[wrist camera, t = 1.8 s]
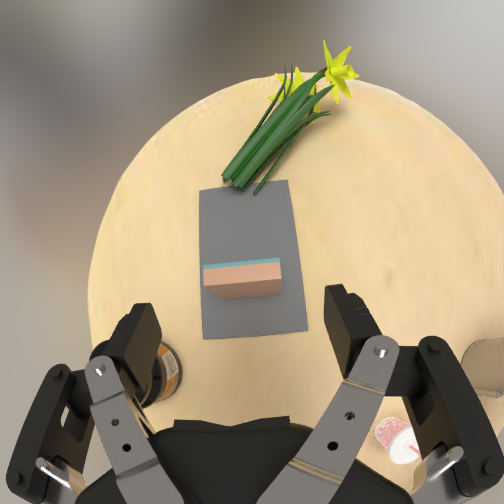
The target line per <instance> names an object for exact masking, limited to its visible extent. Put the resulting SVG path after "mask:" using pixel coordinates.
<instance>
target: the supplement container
mask: <svg viewBox="0 0 504 504" xmlns="http://www.w3.org/2000/svg"><path fill="white" fill-rule="evenodd" d="M108 341H109V340H106V341H103V342H102V343H100V344H99V345H97V346H96V347H95V349H94V350H93V352H92V354H91V356H90V359H89V361H90V360H92V359H93V358H95V357H98V356H101V355H102V353H103V351H104V349H105V347H106V345H107V343H108ZM180 380H181V367H180V363H179V360H178V358H177V356H176V355H175V353H174V352H173V351H172V349H171V348H170V347H168V346H167V345H166V344H165V343H163V342H160V345H159V349H158V352H157V355H156V358H155V361H154V364H153V367H152V371H151V374H150V377H149V380H148V384H147V387H146V390H145V393H144V392H135V397H136V398H137V400H138V402H139V404H140V405H141V407H142V409H144V408H147V407H149V406H151V405H152V404H154V403H156V402H158V401H161V400H164V399H166V398H168V397H170V396H171V395H172V394H173V393H174V392H175V391H176V390H177V388H178V386H179V384H180Z"/></svg>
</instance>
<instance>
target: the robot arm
mask: <svg viewBox="0 0 504 504" xmlns="http://www.w3.org/2000/svg"><path fill="white" fill-rule="evenodd" d="M324 322H325V326H326V329H327V332H328V335H329V338H330V341H331V343H332V346H333V349H334V352H335V355H336V358H337V361H338V364H339V367H340V370H341V373H342V376H343V379H344V380H343V382H342V383H341V385H340V387H339V389H338V390H337V392H336V394H335V396H334V397H333V399H332V401H331V403H330V404H329V406H328V408H327V409H326V411H325V412H324V414H323V416H322V417H321V419H320V420H319V422H318V424H317V425H316V427H315V428H314V429H313V428H311V427H308V426H305V425H300V424H295V423H290V419H289V416H282V417H273V418H262V419H257V420H253V421H250V422H246V423H242V424H239V425H235V426H224V425H219V424H214V423H210V422H206V421H201V420H174V426H173V427H171V428H167V429H164V430H161V431H159V432H157V433H156V432H155V430H154V429H153V427H152V425H151V424H150V422H149V420H148V418H147V416H146V415H145V413H144V411H143V409H142V407H141V405H140V404H139V402H138V400H137V398H136V397H135V392H144V393H145V390H146V387H147V384H148V380H149V377H150V374H151V371H152V367H153V364H154V361H155V358H156V355H157V352H158V349H159V345H160V342H161V339H162V332H161V327H160V325H159V322H158V319H157V317H156V314H155V312H154V309H153V306H152V304H151V303H136V304H134V306H133V307H132V309H131V311H130V313H129V314H126V315H125V316H124V317H123V318H122V319H121V320H120V321H119V322H118V324H117V326H116V328H115V330H114V332H113V334H112V336H111V338H110V339H109V341H108V343H107V345H106V347H105V349H104V351H103V353H102V355H101V356H98V357H95V358H93V359H92V360H90V361H89V362H88V363H87V365H86V367H85V369H84V370H78V371H71V370H70V369H69V367H68V366H67V365H65V364H58V365H55V366H53V367H52V368H51V369H50V370H49V371H48V372H47V374H46V376H45V378H44V380H43V382H42V384H41V386H40V388H39V391H38V393H37V395H36V397H35V399H34V401H33V403H32V406H31V408H30V410H29V412H28V415H27V417H26V420H25V422H24V425H23V427H22V430H21V432H20V435H19V437H18V440H17V443H16V446H15V448H14V451H13V454H12V457H11V460H10V463H9V467H8V470H7V474H6V482H7V486H8V488H9V489H10V490H11V492H12V493H14V494H16V495H17V496H19V497H21V498H23V499H24V500H26V501H28V502H30V503H32V504H463V503H465V502H467V501H469V500H471V499H473V498H475V497H477V496H478V495H480V494H481V493H483V492H484V491H486V490H487V489H489V488H491V487H492V486H494V485H496V484H497V483H498V482H499V481H500V479H501V478H502V476H503V474H504V456H503V453H502V450H501V448H500V445H499V443H498V440H497V438H496V435H495V433H494V430H493V428H492V426H491V424H490V421H489V419H488V417H487V415H486V413H485V411H484V408H483V406H482V404H481V402H480V400H479V398H478V396H477V395H483V396H489V397H495V398H498V397H500V396H502V395H503V394H504V338H501V339H492V340H482V341H477V342H475V343H473V344H472V345H471V346H470V347H469V348H468V349H467V351H466V352H465V354H464V357H463V359H462V363H461V365H460V363H459V362H458V360H457V358H456V356H455V355H454V353H453V351H452V350H451V348H450V347H449V345H448V343H447V342H446V341H445V340H443V339H442V338H440V337H437V336H427V337H424V338H423V339H421V341H420V342H419V345H418V346H399V345H398V344H397V342H396V341H395V340H394V339H392V338H390V337H388V336H384V335H382V333H381V331H380V329H379V327H378V326H377V324H376V322H375V320H374V319H373V317H372V315H371V314H370V312H369V310H368V308H367V307H366V305H365V303H364V301H363V299H362V298H360V297H359V296H358V295H356V294H355V293H350V294H348V293H347V291H346V290H345V288H344V286H343V284H335V285H328V286H326V287H325V297H324ZM346 379H347V380H346ZM384 396H402V399H403V402H404V405H405V408H406V410H407V413H408V416H409V419H410V422H411V425H412V428H413V431H414V434H415V437H416V441H417V444H418V447H419V451H420V454H421V457H422V461H421V462H420V463H419V464H418V466H417V467H416V469H415V472H414V486H413V489H412V491H411V492H410V494H409V493H408V492H407V491H406V490H404V489H403V488H401V487H400V486H398V485H396V484H395V483H393V482H392V481H390V480H388V479H387V478H385V477H383V476H382V475H380V474H379V473H377V472H376V471H374V470H373V469H371V468H370V467H368V466H367V465H365V464H364V463H362V462H361V461H359V460H358V459H356V456H357V454H358V452H359V450H360V448H361V446H362V444H363V442H364V440H365V438H366V436H367V434H368V432H369V430H370V428H371V426H372V423H373V421H374V419H375V417H376V414H377V412H378V410H379V407H380V405H381V403H382V400H383V398H384ZM65 406H66V407H67V408H68V409H69V412H68V415H67V418H66V421H65V423H64V427H62V425H61V416H62V413H63V411H64V408H65ZM94 425H96V428H97V430H98V433H99V436H100V438H101V441H102V444H103V446H104V449H105V451H106V453H107V456H108V458H109V460H110V463H111V465H112V467H113V468H111V469H110V470H109V471H108V472H106V473H105V474H104V475H102V476H101V477H100V478H99V479H97V480H96V481H95V482H93V483H92V484H91V485H89V486H88V487H87V486H86V485H85V481H84V478H83V476H82V473H83V469H84V464H85V460H86V456H87V451H88V448H89V444H90V440H91V436H92V433H93V429H94Z"/></svg>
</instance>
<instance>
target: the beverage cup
mask: <svg viewBox="0 0 504 504" xmlns="http://www.w3.org/2000/svg"><path fill="white" fill-rule="evenodd" d="M375 436H376V438H377V440H378V441H379V442H380V443H381V445H382V446H383V447H384V448H385V450H386V451H387V452H388V454H389V457H390V459H391V460H392V461H393V462H395V463H396V464H407V463H410V462H412V461H413V460H415V459H417V458H418V457H419V456H421V454H420V451H419V447H418V444H417V441H416V437H415V434H414V431H413V428H412V425H411V424H409V423H407V422H404V421H402V420H400V419H397V418H395V417H387V418H385V419H383V420H381V421H380V422H379V424H378V425H377V427H376V429H375Z"/></svg>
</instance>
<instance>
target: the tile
mask: <svg viewBox="0 0 504 504" xmlns="http://www.w3.org/2000/svg"><path fill="white" fill-rule="evenodd" d="M203 276H204V286H205V287H206V288H207V289H209V290H210V291H211V292H213V293H214V294H216V295H217V296H218V297H220V298H221V299H223V300H225V299H237V298H248V297H259V296H269V295H279V294H281V281H282V278H281V269H280V260H279V258H269V259H260V260H250V261H241V262H231V263H221V264H211V265H203Z"/></svg>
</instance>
